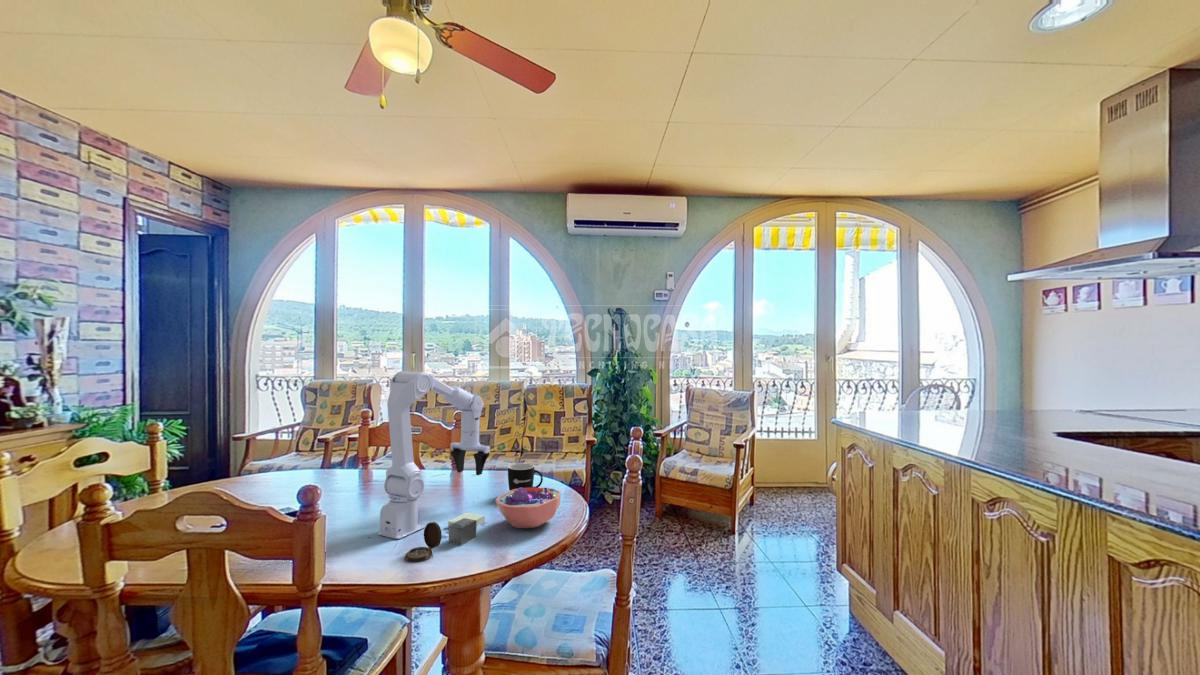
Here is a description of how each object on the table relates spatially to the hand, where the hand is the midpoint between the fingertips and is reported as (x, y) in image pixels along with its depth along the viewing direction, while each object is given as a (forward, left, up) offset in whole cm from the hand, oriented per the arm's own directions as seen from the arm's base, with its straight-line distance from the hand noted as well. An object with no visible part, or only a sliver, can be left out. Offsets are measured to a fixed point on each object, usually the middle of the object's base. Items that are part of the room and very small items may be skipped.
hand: (469, 473), depth 158 cm
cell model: (-7, -28, -10) cm, 30 cm away
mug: (+15, -12, -10) cm, 22 cm away
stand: (-15, -11, -10) cm, 21 cm away
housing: (-24, -18, -10) cm, 31 cm away
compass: (-36, -16, -10) cm, 40 cm away
